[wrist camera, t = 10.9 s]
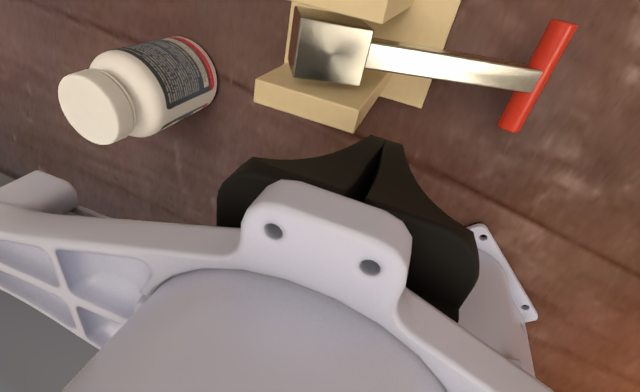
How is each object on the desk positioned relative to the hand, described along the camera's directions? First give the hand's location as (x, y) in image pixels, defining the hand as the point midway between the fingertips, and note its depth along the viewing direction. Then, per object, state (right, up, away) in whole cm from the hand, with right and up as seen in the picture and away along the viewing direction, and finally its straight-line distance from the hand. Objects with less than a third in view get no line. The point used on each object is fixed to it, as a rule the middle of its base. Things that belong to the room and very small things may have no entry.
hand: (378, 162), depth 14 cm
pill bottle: (-12, +8, +13) cm, 19 cm away
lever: (+2, +5, +3) cm, 6 cm away
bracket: (+1, +9, +7) cm, 11 cm away
